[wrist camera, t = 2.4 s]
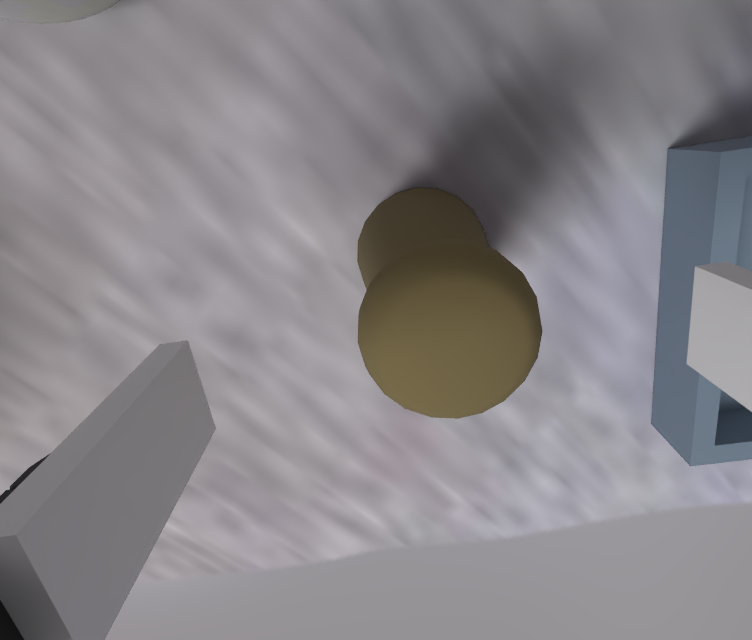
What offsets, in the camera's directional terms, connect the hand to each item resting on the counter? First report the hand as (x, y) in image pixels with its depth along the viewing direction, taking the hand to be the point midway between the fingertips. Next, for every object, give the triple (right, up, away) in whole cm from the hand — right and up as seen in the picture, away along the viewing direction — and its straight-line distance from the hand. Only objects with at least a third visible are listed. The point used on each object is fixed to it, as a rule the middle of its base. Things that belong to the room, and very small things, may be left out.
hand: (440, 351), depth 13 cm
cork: (0, +4, +10) cm, 11 cm away
